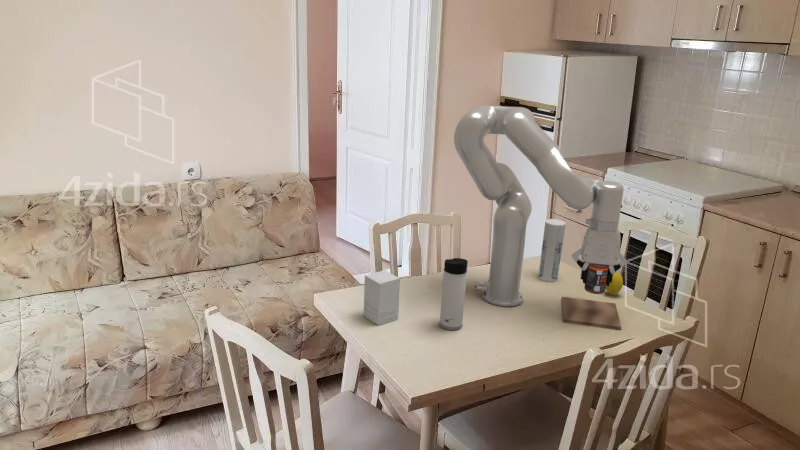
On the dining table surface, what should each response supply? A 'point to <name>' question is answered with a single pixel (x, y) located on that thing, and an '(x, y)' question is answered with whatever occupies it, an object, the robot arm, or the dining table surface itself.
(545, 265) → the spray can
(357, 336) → the dining table surface
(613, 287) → the lemon
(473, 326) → the dining table surface
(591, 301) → the walnut board
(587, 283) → the supplement bottle
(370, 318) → the supplement box
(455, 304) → the travel mug
